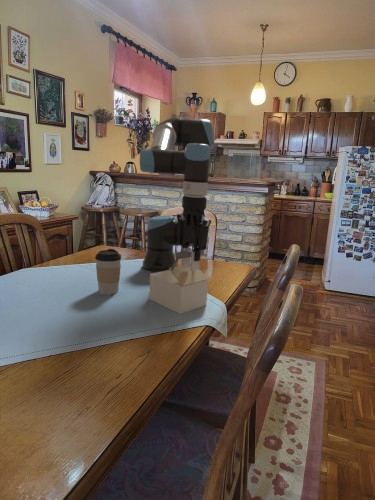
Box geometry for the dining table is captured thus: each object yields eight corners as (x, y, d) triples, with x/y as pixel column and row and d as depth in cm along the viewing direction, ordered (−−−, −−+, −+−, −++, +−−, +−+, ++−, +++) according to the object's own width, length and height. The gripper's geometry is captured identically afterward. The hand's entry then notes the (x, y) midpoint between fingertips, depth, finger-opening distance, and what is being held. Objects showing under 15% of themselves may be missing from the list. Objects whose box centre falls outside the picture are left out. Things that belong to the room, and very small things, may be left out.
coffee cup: (115, 297, 124) (115, 255, 120) (91, 293, 125) (90, 252, 122) (124, 288, 132) (125, 249, 129) (102, 285, 134) (101, 247, 131)
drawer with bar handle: (192, 262, 122) (201, 246, 118) (207, 280, 118) (216, 264, 114) (168, 268, 115) (176, 250, 111) (182, 286, 111) (192, 269, 106)
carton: (174, 291, 132) (175, 267, 130) (206, 305, 121) (208, 280, 118) (148, 298, 124) (148, 273, 122) (180, 314, 112) (181, 287, 110)
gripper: (168, 193, 113) (165, 264, 118) (205, 199, 101) (199, 277, 107) (186, 193, 118) (182, 261, 123) (222, 198, 106) (216, 273, 112)
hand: (190, 268), depth 115 cm, fingers open, 3 cm apart
